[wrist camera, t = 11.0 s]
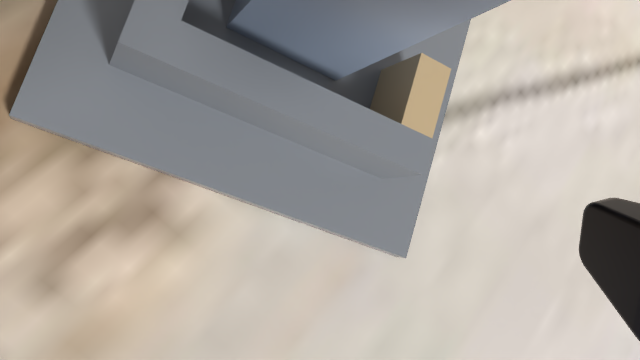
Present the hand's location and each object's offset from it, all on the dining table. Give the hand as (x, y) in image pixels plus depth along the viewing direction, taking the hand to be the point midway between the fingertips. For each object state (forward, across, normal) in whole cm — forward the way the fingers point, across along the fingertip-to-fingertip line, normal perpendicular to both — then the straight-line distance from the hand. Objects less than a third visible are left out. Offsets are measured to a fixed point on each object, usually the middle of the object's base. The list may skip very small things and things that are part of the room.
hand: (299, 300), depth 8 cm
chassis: (+13, -3, -2) cm, 14 cm away
